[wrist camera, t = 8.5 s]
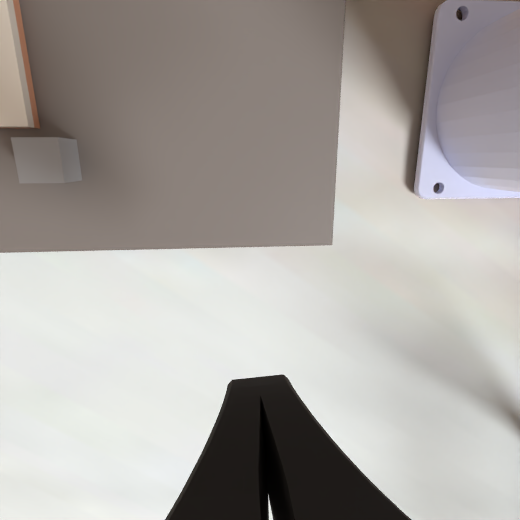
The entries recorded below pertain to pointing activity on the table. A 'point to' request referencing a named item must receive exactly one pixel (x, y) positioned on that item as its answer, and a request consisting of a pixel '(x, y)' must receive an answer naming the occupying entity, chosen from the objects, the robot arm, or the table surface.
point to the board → (175, 126)
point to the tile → (15, 72)
